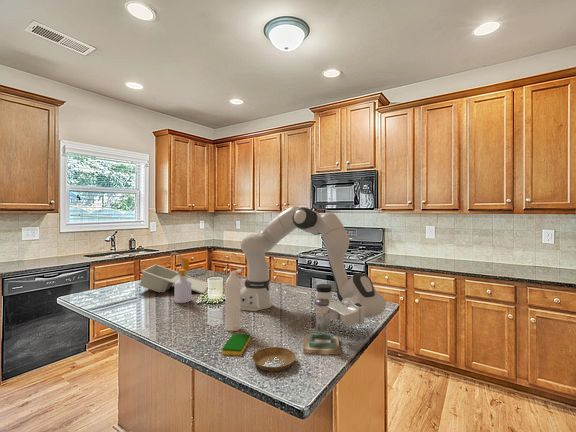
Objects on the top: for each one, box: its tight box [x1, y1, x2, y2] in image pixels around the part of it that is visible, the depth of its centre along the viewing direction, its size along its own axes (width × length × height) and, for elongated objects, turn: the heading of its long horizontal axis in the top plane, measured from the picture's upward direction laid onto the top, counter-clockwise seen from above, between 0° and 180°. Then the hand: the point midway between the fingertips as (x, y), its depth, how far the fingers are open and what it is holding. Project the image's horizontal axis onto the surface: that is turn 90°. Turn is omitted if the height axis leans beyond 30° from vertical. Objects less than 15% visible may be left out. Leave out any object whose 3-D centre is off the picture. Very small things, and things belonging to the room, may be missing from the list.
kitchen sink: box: [139, 251, 208, 294], centre depth 202 cm, size 24×40×25 cm, turn 93°
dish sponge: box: [221, 333, 251, 356], centre depth 119 cm, size 7×14×2 cm, turn 173°
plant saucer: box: [251, 346, 297, 372], centre depth 106 cm, size 15×15×3 cm
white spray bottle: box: [224, 268, 243, 332], centre depth 137 cm, size 9×6×25 cm
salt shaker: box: [314, 298, 330, 333], centre depth 119 cm, size 5×5×11 cm
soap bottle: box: [173, 257, 192, 304], centre depth 176 cm, size 9×9×25 cm
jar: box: [315, 283, 333, 300], centre depth 165 cm, size 9×8×12 cm
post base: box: [302, 332, 341, 355], centre depth 119 cm, size 13×13×3 cm
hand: (320, 313), depth 119 cm, fingers closed on salt shaker, 5 cm apart
